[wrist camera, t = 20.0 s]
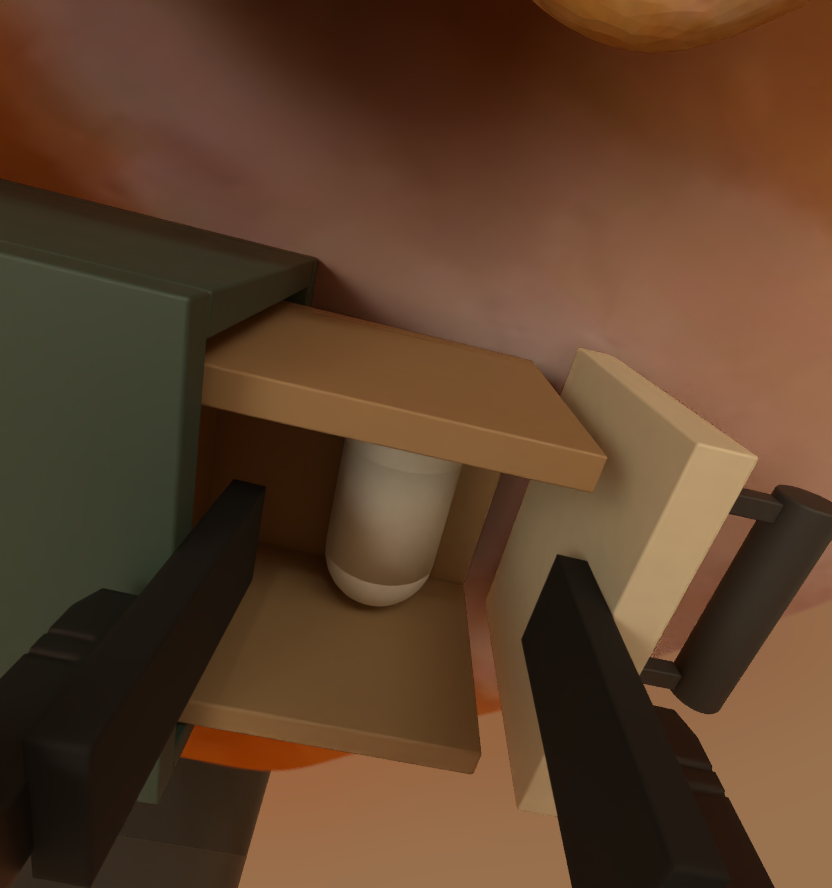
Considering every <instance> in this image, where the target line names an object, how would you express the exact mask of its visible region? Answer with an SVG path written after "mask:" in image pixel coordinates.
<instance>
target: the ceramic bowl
mask: <svg viewBox="0 0 832 888" xmlns="http://www.w3.org/2000/svg"><path fill="white" fill-rule="evenodd" d="M532 1H533V2H534V3H535V4H537V5H538V6H539V7H540V8H541V9H542V10H544V11H545V12H546V13H547V14H549V15H550V16H552V17H553V18H554V19H556V20H557V21H559V22H560V23H562V24H563V25H565V26H567V27H569V28H571V29H572V30H574V31H576V32H578V33H579V34H581V35H583V36H585V37H587V38H589V39H591V40H594V41H596V42H599V43H601V44H604V45H608V46H612V47H616V48H620V49H624V50H628V51H638V52H650V53H659V52H672V51H680V50H685V49H691V48H696V47H699V46H702V45H706V44H709V43H712V42H716V41H719V40H722V39H726V38H728V37H731V36H733V35H736V34H739V33H741V32H744V31H746V30H749V29H752V28H754V27H757V26H759V25H761V24H764V23H766V22H768V21H771V20H773V19H775V18H778V17H780V16H782V15H785V14H787V13H789V12H792V11H794V10H796V9H799V8H801V7H802V6H803V5H804V4H806V3H807V2H808V1H809V0H532Z"/></svg>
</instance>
